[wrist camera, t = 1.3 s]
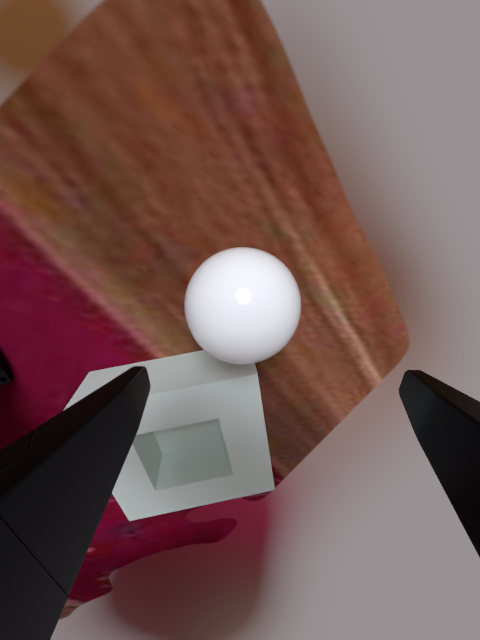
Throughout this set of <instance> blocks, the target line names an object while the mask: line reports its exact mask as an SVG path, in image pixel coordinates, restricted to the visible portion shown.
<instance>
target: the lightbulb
mask: <svg viewBox="0 0 480 640" xmlns="http://www.w3.org/2000/svg"><path fill="white" fill-rule="evenodd" d="M184 311H185V318H186V322H187V325H188V328H189V330H190V332H191V334H192V336H193V337H194V339H195V340H196V342H197V343H198V344H199V345H200V346H201V347H202V348H203V349H204V350H205V351H206V352H207V353H209V354H210V355H212V356H213V357H215V358H217V359H219V360H222V361H224V362H228V363H232V364H253V363H257V362H261V361H264V360H266V359H268V358H270V357H272V356H274V355H275V354H277V353H278V352H279V351H281V350H282V349H283V348H284V347H285V346H286V345H287V344H288V342H289V341H290V340H291V338H292V337H293V335H294V333H295V331H296V329H297V326H298V324H299V320H300V315H301V297H300V292H299V288H298V285H297V283H296V280H295V278H294V277H293V275H292V273H291V272H290V270H289V269H288V268H287V267H286V266H285V265H284V264H283V263H282V262H281V261H280V260H279V259H277V258H276V257H274V256H273V255H271V254H269V253H267V252H265V251H262V250H259V249H255V248H249V247H236V248H230V249H226V250H223V251H221V252H218V253H216V254H214V255H213V256H211V257H210V258H208V259H207V260H206V261H204V262H203V263H202V264H201V265H200V266H199V267H198V269H197V270H196V271H195V273H194V274H193V276H192V277H191V279H190V281H189V284H188V286H187V289H186V293H185V300H184Z"/></svg>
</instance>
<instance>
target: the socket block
mask: <svg viewBox="0 0 480 640" xmlns="http://www.w3.org/2000/svg"><path fill="white" fill-rule="evenodd" d="M133 366H145V367H146V368H147V372H148V376H149V380H150V392H149V396H148V399H147V402H146V406H145V409H144V412H143V416H142V419H141V422H140V426H139V429H138V431H137V434H136V436H135V439H134V441H133V443H132V446H131V448H130V451H129V453H128V455H127V458H126V460H125V463H124V465H123V467H122V470H121V472H120V474H119V477H118V479H117V482H116V484H115V486H114V489H113V491H112V494H113V495H114V497H115V499H116V500H117V502H118V503H119V505H120V507H121V508H122V510H123V512H124V513H125V515H126V516H127V518H128V520H129V521H132V520H136V519H141V518H146V517H151V516H155V515H160V514H165V513H169V512H174V511H179V510H183V509H188V508H193V507H197V506H202V505H207V504H212V503H216V502H221V501H226V500H230V499H234V498H240V497H244V496H249V495H254V494H258V493H263V492H268V491H273V490H275V486H274V480H273V473H272V466H271V460H270V453H269V446H268V440H267V433H266V426H265V420H264V413H263V406H262V400H261V393H260V386H259V380H258V373H257V370H256V366H255V363H253V364H232V363H228V362H224V361H222V360H219V359H217V358H215V357H213V356H212V355H210V354H209V353H207V352H206V351H205V350H201V351H196V352H191V353H186V354H180V355H175V356H170V357H165V358H160V359H154V360H149V361H144V362H139V363H133V364H128V365H123V366H118V367H112V368H107V369H102V370H97V371H91V372H89V373H88V375H87V376H86V378H85V379H84V381H83V382H82V384H81V385H80V386H79V388H78V389H77V391H76V392H75V394H74V395H73V397H72V398H71V400H70V401H69V403H68V404H67V406H66V407H65V409H67V408H68V407H70V406H71V405H73V404H75V403H76V402H78V401H79V400H81V399H82V398H84V397H86V396H87V395H89V394H90V393H92V392H94V391H95V390H97V389H98V388H100V387H101V386H103V385H105V384H106V383H108V382H109V381H111V380H112V379H114V378H116V377H117V376H119V375H120V374H122V373H124V372H125V371H127V370H128V369H130V368H131V367H133ZM65 409H64V410H65ZM64 410H63V411H64Z"/></svg>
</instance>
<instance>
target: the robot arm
mask: <svg viewBox="0 0 480 640" xmlns="http://www.w3.org/2000/svg"><path fill="white" fill-rule="evenodd" d="M4 377H5V378H4ZM12 379H13V376H12V374H11V373H10V371H9V370H8V369H7V367H6V366H5V364H4V363H3V361H2V360H1V358H0V385H3V384H7V383H9V382H10V381H11V380H12ZM149 392H150V380H149V376H148V372H147V368H146V367H145V366H133V367H131V368H130V369H128V370H127V371H125V372H124V373H122V374H120V375H119V376H117V377H116V378H114V379H112V380H111V381H109V382H108V383H106V384H105V385H103V386H101V387H100V388H98V389H97V390H95V391H94V392H92V393H90V394H89V395H87V396H86V397H84V398H82V399H81V400H79V401H78V402H76V403H75V404H73V405H71V406H70V407H68V408H67V409H65V410H64V411H62V412H60V413H59V414H57V415H56V416H54V417H52V418H51V419H49V420H48V421H46V422H45V423H43V424H41V425H40V426H38V427H37V428H35V431H34V430H32V431H30V432H29V433H27V434H26V435H24V436H22V437H21V438H19V439H18V440H16V441H14V442H13V443H11V444H10V445H8V446H6V447H5V448H3V449H1V450H0V640H50V639H51V636H52V634H53V632H54V629H55V627H56V624H57V622H58V620H59V617H60V615H61V613H62V610H63V608H64V606H65V603H66V601H67V598H68V596H67V595H69V593H70V591H71V588H72V586H73V584H74V581H75V579H76V577H77V574H78V572H79V569H80V567H81V565H82V562H83V560H84V558H85V555H86V553H87V550H88V548H89V546H90V543H91V541H92V539H93V536H94V534H95V531H96V529H97V527H98V524H99V522H100V520H101V517H102V515H103V512H104V510H105V508H106V505H107V503H108V501H109V498H110V496H111V493H112V491H113V489H114V486H115V484H116V482H117V479H118V477H119V474H120V472H121V470H122V467H123V465H124V463H125V460H126V458H127V455H128V453H129V451H130V448H131V446H132V443H133V441H134V439H135V436H136V434H137V431H138V429H139V426H140V422H141V419H142V416H143V412H144V409H145V406H146V402H147V399H148V396H149ZM399 394H400V397H401V400H402V402H403V405H404V407H405V410H406V412H407V415H408V417H409V420H410V422H411V425H412V427H413V430H414V432H415V434H416V437H417V439H418V441H419V443H420V445H421V447H422V449H423V450H424V452H425V454H426V456H427V458H428V460H429V462H430V464H431V466H432V467H433V470H434V471H435V473H436V475H437V477H438V479H439V481H440V483H441V485H442V487H443V489H444V490H445V492H446V494H447V496H448V498H449V500H450V502H451V504H452V505H453V508H454V509H455V511H456V513H457V515H458V517H459V519H460V521H461V523H462V525H463V527H464V528H465V530H466V532H467V534H468V536H469V538H470V540H471V542H472V544H473V546H474V547H475V549H476V551H477V553H478V555H479V557H480V402H479V401H477V400H475V399H473V398H471V397H469V396H468V395H466V394H464V393H462V392H460V391H458V390H456V389H454V388H453V387H451V386H449V385H447V384H445V383H443V382H441V381H439V380H438V379H436V378H434V377H432V376H430V375H428V374H426V373H425V372H423V371H420V370H407V371H406V372H405V373H404V376H403V379H402V382H401V385H400V388H399Z"/></svg>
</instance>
